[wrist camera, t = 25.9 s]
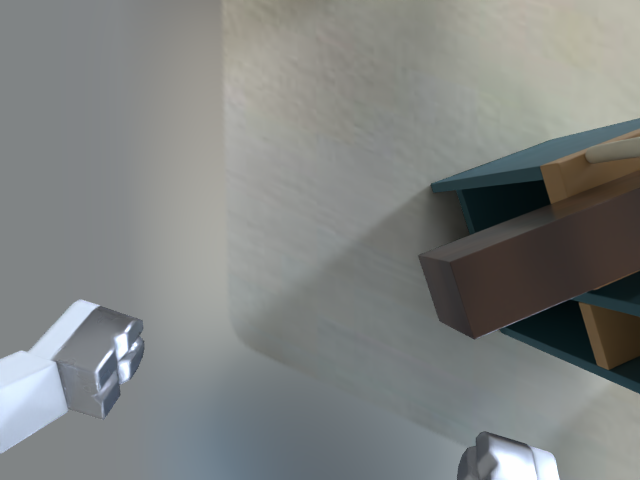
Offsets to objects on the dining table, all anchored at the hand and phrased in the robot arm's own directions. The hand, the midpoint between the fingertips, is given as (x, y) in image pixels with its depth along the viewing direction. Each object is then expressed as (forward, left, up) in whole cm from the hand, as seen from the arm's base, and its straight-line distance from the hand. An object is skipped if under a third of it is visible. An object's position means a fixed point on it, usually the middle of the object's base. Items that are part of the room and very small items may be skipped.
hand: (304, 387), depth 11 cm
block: (+12, +14, -11) cm, 21 cm away
